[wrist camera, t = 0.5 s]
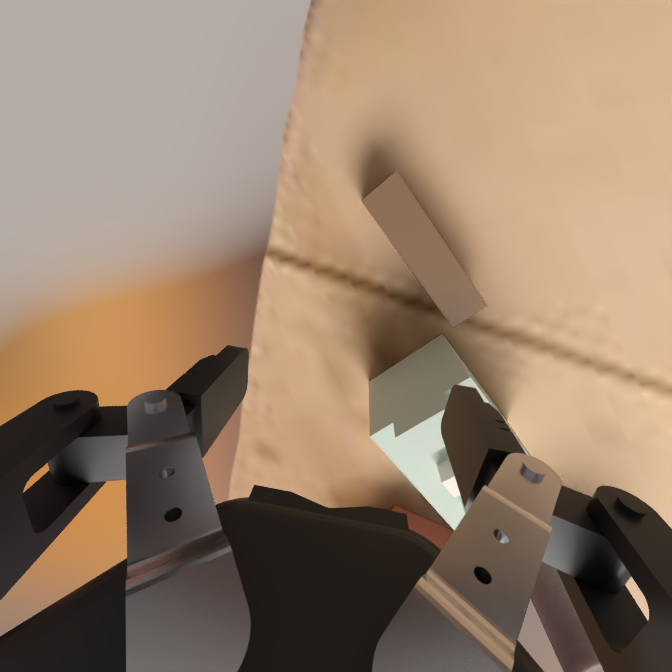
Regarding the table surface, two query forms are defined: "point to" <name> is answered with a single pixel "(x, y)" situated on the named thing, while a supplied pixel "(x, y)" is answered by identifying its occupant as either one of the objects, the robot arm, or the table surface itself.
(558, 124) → the table surface
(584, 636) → the pillar candle
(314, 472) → the table surface
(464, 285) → the long beige cuboid
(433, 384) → the stand
